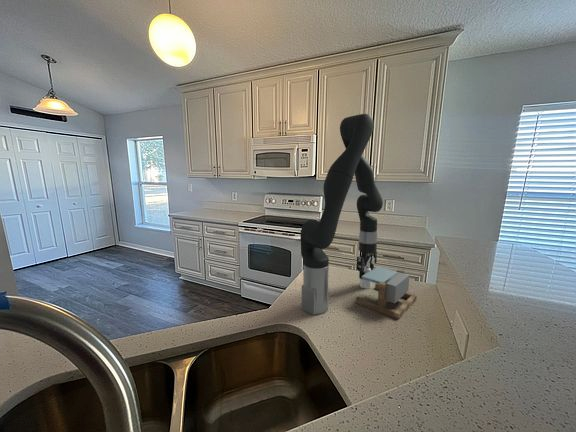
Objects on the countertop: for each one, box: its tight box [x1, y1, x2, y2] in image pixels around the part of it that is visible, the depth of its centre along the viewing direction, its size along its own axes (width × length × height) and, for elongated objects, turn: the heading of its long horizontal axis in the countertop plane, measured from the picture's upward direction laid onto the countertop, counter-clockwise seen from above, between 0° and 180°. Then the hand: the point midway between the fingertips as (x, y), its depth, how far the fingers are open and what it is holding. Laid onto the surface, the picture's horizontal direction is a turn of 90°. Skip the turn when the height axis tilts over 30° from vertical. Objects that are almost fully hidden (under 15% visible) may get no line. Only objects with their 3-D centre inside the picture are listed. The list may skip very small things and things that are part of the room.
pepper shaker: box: [359, 263, 373, 290], centre depth 109 cm, size 5×5×11 cm
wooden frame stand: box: [355, 268, 418, 320], centre depth 96 cm, size 19×16×11 cm
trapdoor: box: [362, 266, 410, 304], centre depth 96 cm, size 14×13×7 cm
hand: (366, 275), depth 109 cm, fingers open, 8 cm apart
